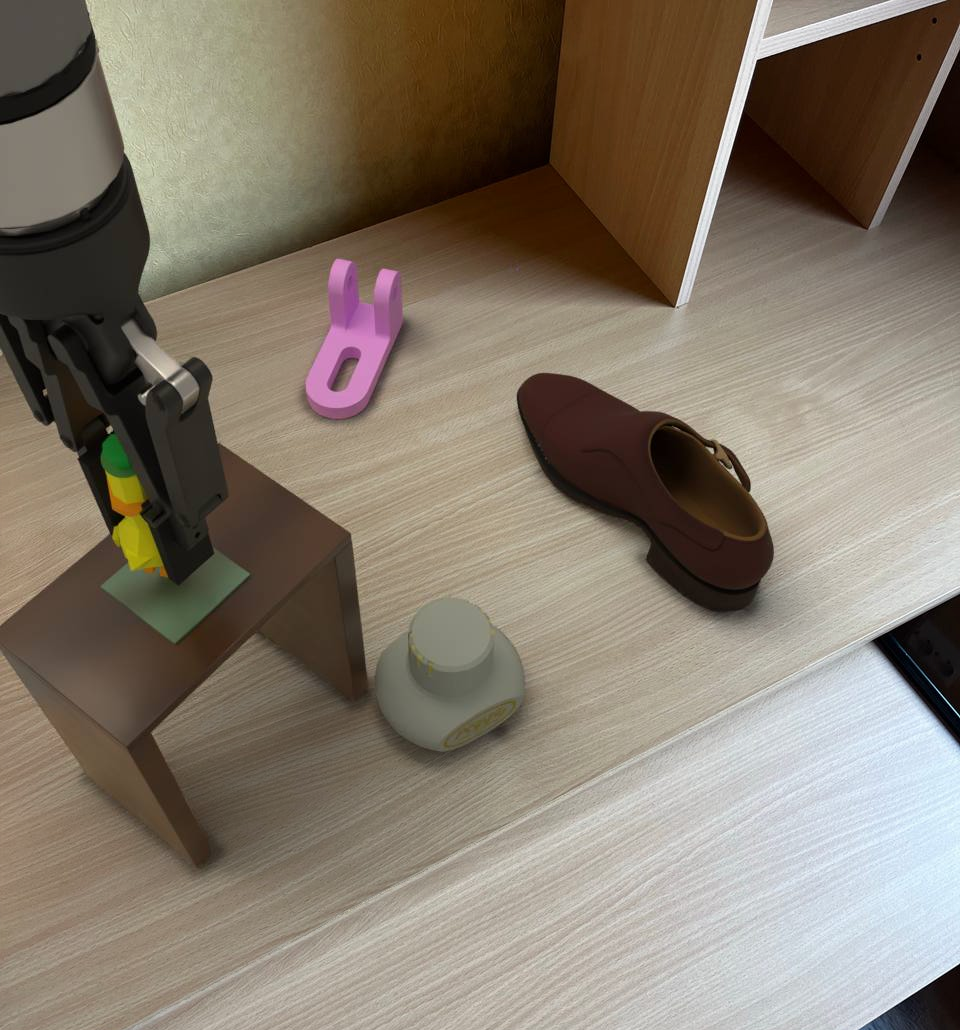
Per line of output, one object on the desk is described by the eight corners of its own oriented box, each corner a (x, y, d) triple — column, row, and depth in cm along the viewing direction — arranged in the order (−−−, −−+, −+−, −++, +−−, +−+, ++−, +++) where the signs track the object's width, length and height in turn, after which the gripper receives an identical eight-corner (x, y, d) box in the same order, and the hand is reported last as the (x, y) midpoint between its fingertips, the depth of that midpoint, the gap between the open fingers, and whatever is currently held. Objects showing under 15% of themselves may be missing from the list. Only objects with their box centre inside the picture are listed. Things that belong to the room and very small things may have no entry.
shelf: (87, 775, 78) (-13, 632, 61) (262, 609, 86) (218, 439, 68) (196, 868, 75) (125, 746, 58) (369, 688, 83) (351, 531, 65)
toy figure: (149, 502, 64) (110, 367, 53) (210, 514, 64) (183, 382, 53) (113, 602, 61) (64, 481, 50) (177, 615, 61) (142, 497, 50)
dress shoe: (566, 376, 99) (581, 275, 89) (787, 585, 89) (832, 497, 79) (486, 421, 96) (492, 322, 86) (705, 643, 86) (741, 560, 76)
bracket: (345, 309, 102) (340, 249, 96) (402, 322, 102) (400, 262, 96) (298, 410, 96) (288, 353, 90) (358, 424, 96) (353, 367, 89)
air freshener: (481, 626, 86) (486, 554, 77) (540, 707, 82) (552, 640, 74) (358, 691, 82) (350, 623, 74) (415, 778, 79) (413, 717, 70)
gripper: (266, 220, 39) (323, 581, 59) (-44, 35, 44) (107, 427, 64) (106, 338, 36) (224, 676, 56) (-209, 124, 40) (5, 507, 61)
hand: (162, 543), depth 60 cm, fingers closed on toy figure, 4 cm apart
